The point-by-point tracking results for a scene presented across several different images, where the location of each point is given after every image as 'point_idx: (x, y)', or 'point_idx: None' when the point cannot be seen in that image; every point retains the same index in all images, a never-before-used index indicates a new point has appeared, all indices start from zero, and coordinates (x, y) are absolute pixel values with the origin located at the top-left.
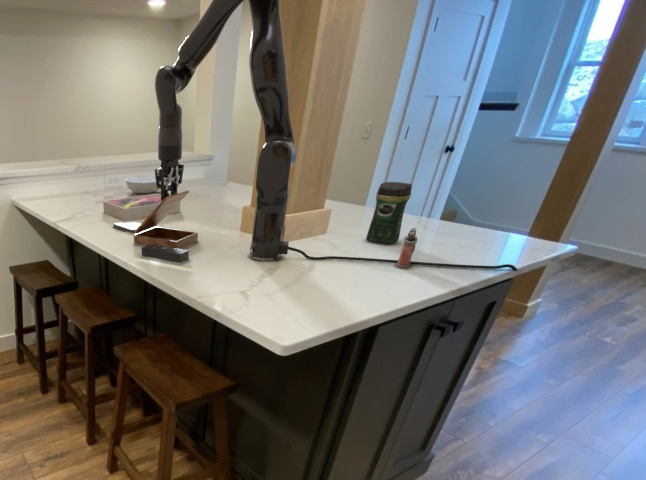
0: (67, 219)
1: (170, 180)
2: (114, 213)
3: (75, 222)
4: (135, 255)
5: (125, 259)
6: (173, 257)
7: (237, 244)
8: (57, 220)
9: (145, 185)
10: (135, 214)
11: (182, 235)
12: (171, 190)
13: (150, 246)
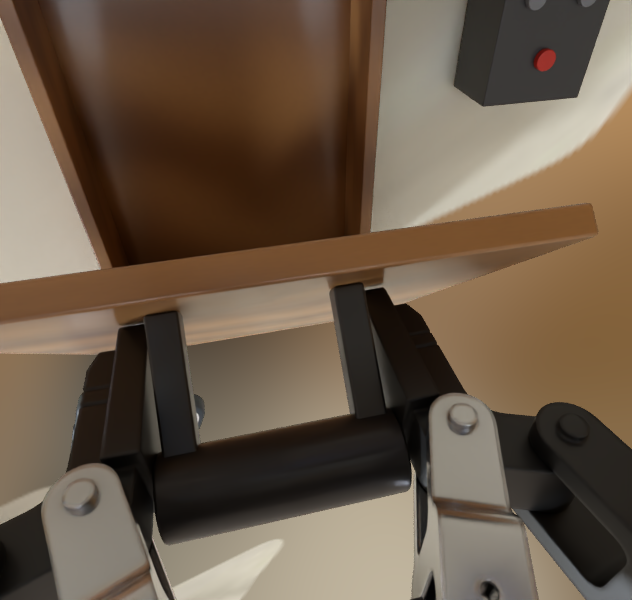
0: (208, 597)
1: (444, 536)
2: None
3: (219, 572)
4: (513, 135)
5: (591, 130)
6: None
7: None
8: (238, 597)
9: None
10: None
11: (66, 111)
12: (198, 438)
13: (553, 53)
